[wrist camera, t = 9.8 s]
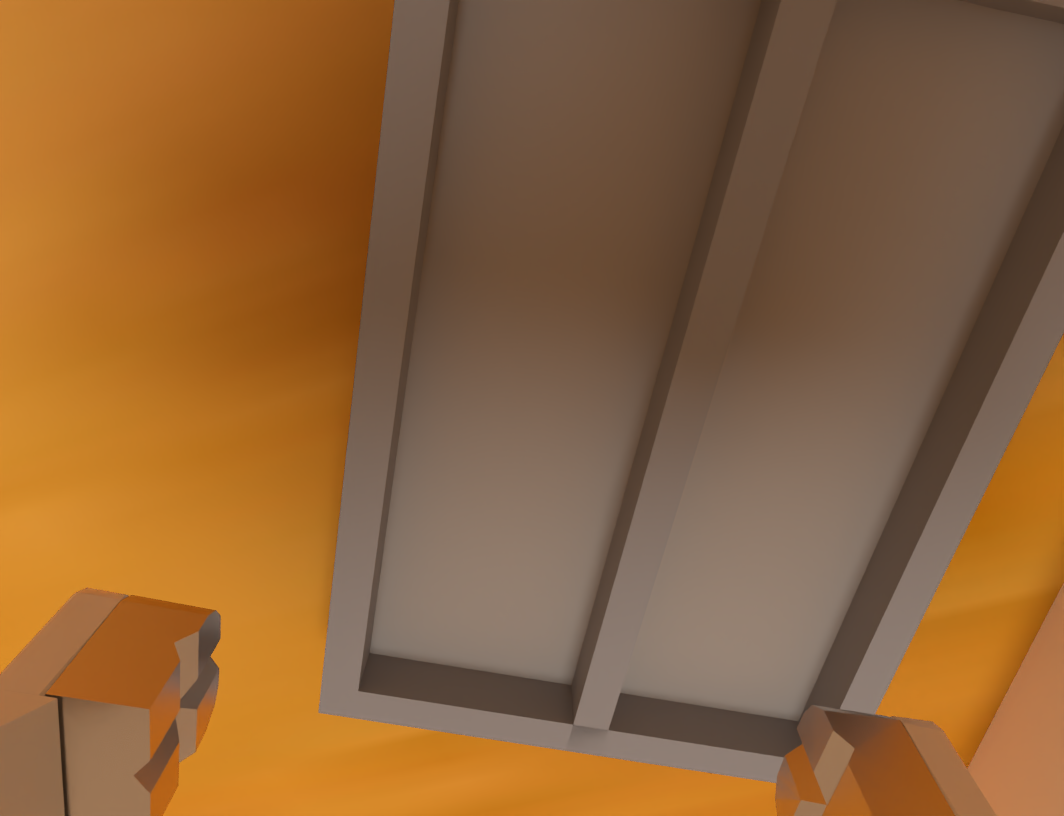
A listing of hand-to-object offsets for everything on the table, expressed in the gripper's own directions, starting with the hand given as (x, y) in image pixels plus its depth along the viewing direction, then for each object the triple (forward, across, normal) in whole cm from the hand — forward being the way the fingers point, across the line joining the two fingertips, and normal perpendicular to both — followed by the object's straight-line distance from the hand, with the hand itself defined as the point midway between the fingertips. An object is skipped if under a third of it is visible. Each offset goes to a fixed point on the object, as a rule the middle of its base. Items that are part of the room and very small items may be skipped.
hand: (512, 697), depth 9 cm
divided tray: (+12, -4, 0) cm, 12 cm away
